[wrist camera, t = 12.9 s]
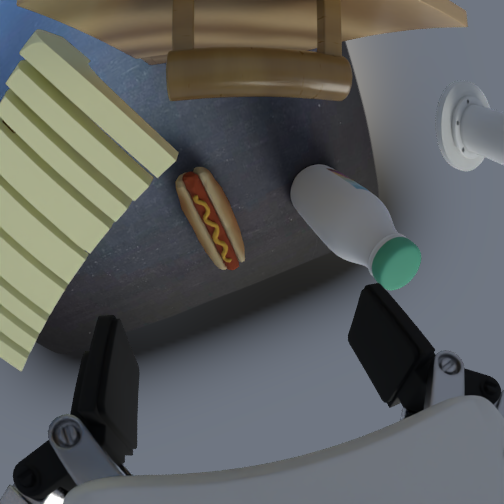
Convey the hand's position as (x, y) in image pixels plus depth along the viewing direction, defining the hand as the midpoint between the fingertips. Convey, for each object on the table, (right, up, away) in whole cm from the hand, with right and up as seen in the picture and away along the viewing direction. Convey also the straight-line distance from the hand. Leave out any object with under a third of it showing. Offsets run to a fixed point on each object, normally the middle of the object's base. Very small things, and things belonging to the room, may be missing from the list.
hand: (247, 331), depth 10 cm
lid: (-1, +16, +2) cm, 16 cm away
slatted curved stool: (-24, +12, +20) cm, 34 cm away
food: (-5, +8, +27) cm, 29 cm away
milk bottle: (+9, +11, +28) cm, 32 cm away
